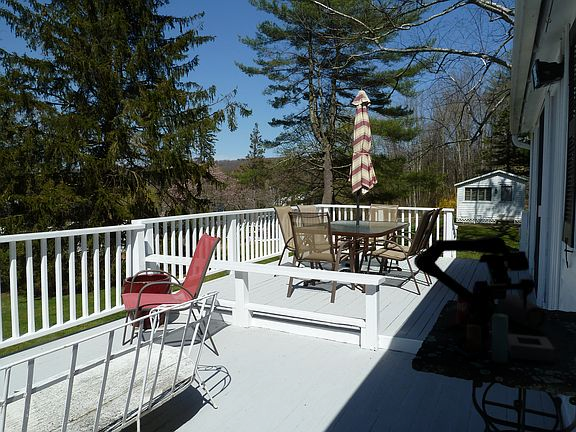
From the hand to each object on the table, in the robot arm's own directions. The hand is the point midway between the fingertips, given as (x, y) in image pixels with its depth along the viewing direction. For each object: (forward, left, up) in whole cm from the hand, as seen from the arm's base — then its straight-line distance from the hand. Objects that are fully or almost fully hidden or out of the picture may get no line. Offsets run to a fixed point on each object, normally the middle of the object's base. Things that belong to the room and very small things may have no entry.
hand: (510, 309), depth 146 cm
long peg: (-4, -11, -13) cm, 18 cm away
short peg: (-11, -4, -13) cm, 18 cm away
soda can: (-12, +25, -14) cm, 31 cm away
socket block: (+5, -1, -13) cm, 15 cm away
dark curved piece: (+8, +34, -14) cm, 38 cm away
